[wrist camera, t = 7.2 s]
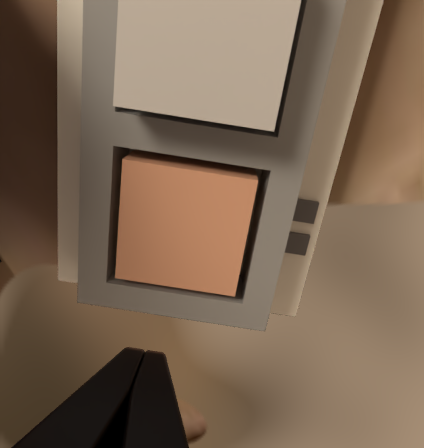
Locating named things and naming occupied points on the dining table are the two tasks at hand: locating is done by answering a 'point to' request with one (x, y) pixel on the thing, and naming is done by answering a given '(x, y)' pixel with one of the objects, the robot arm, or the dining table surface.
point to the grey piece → (211, 151)
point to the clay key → (183, 221)
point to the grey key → (205, 58)
